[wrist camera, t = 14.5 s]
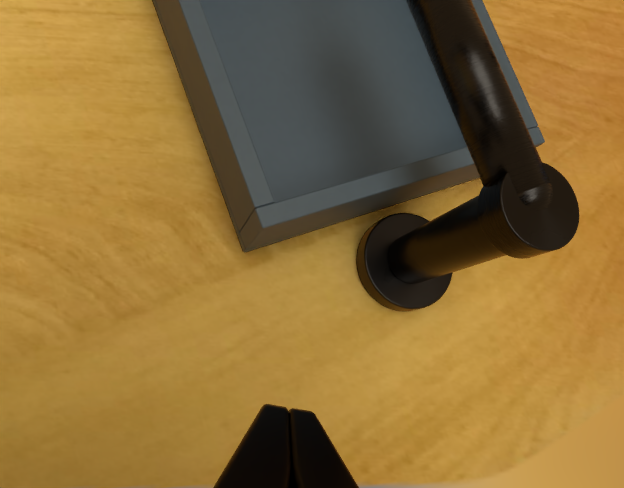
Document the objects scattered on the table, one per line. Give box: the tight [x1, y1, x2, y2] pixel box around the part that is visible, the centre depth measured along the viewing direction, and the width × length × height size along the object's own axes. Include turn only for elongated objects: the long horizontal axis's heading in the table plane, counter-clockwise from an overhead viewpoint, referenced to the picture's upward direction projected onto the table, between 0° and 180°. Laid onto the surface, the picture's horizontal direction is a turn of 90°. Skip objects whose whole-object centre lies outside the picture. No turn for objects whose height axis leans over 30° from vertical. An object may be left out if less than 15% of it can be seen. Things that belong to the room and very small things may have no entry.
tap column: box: [357, 196, 506, 311], centre depth 20 cm, size 4×4×8 cm
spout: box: [406, 0, 579, 258], centre depth 17 cm, size 12×3×3 cm, turn 21°
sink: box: [153, 0, 545, 252], centre depth 23 cm, size 15×14×4 cm
